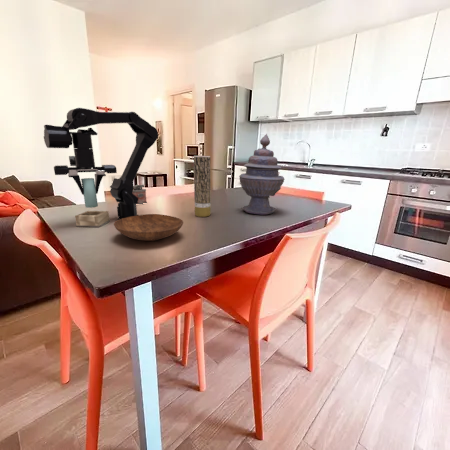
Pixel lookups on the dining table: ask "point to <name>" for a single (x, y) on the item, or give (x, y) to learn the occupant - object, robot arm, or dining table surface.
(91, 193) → the peg
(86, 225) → the socket
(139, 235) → the bowl
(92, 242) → the dining table surface
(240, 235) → the dining table surface
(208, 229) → the dining table surface
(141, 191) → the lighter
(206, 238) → the dining table surface
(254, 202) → the decorative urn
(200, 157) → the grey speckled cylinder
